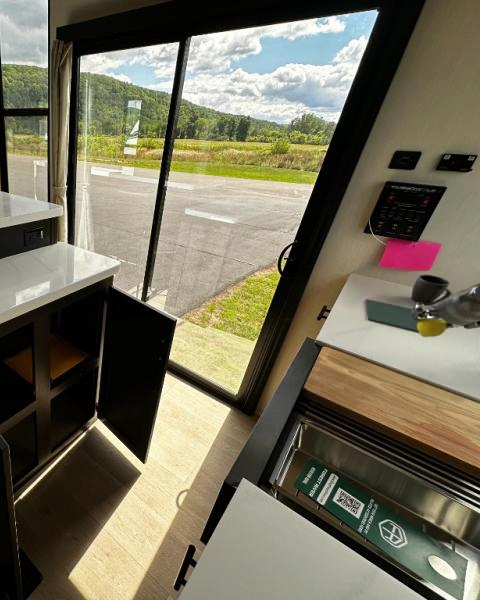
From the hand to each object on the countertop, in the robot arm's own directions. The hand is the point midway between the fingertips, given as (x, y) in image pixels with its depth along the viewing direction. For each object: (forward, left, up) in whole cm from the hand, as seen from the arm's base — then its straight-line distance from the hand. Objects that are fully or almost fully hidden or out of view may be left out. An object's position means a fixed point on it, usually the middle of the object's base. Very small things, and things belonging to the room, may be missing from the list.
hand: (431, 321), depth 91 cm
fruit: (0, +2, -4) cm, 5 cm away
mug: (-9, -40, -13) cm, 43 cm away
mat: (+2, -24, -13) cm, 27 cm away
